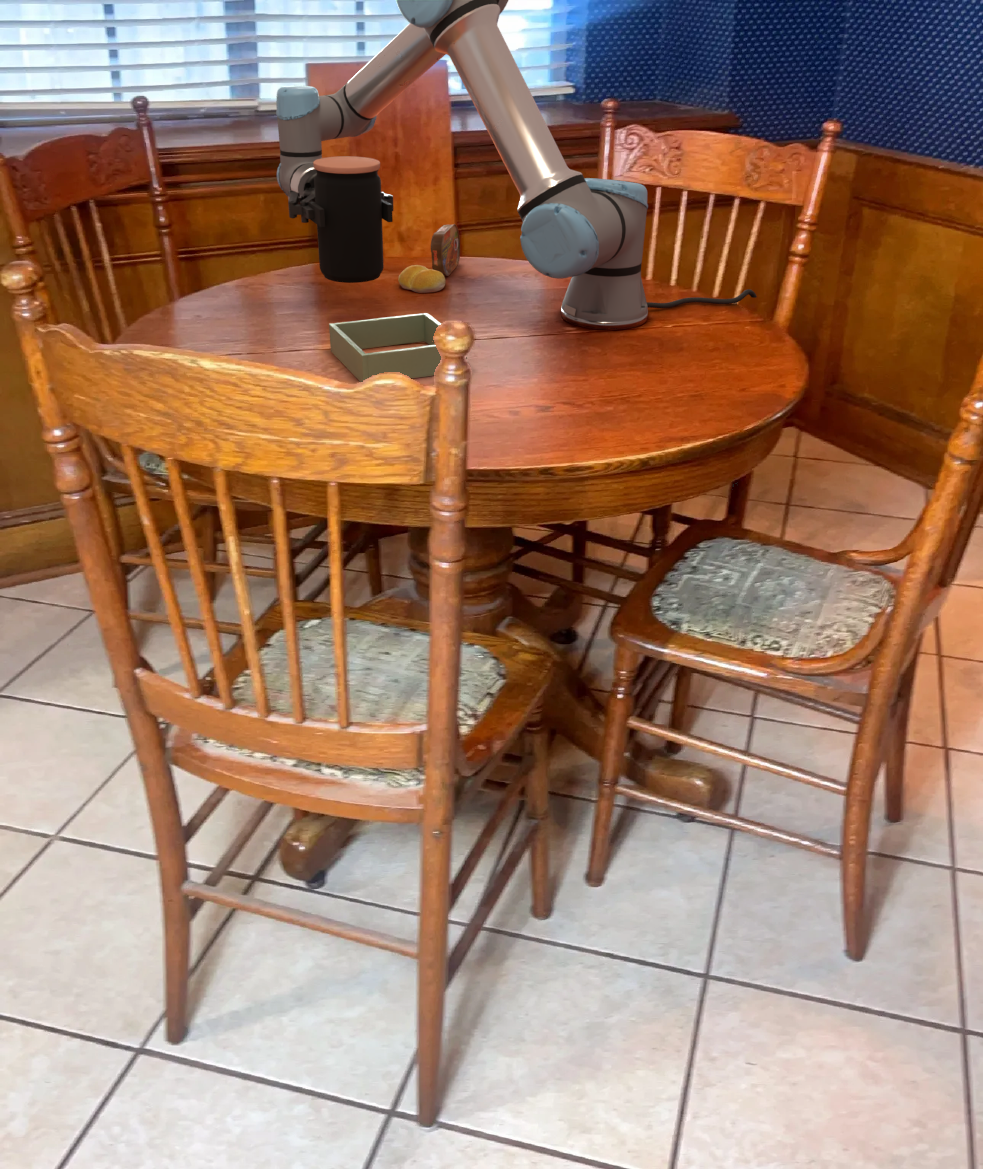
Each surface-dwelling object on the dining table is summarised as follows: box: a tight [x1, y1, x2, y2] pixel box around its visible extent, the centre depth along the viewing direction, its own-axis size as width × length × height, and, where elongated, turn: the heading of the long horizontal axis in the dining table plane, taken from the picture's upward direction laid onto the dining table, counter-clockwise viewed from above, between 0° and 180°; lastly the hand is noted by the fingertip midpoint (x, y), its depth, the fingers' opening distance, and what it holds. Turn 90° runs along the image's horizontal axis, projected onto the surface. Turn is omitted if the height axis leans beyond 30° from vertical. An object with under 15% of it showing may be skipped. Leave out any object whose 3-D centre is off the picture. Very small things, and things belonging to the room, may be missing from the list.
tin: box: [430, 223, 461, 277], centre depth 208 cm, size 15×3×8 cm, turn 168°
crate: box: [328, 312, 468, 383], centre depth 161 cm, size 17×17×4 cm
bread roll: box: [398, 264, 446, 294], centre depth 198 cm, size 8×9×4 cm
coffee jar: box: [313, 155, 385, 284], centre depth 170 cm, size 11×11×18 cm
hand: (356, 216), depth 166 cm, fingers closed on coffee jar, 11 cm apart
